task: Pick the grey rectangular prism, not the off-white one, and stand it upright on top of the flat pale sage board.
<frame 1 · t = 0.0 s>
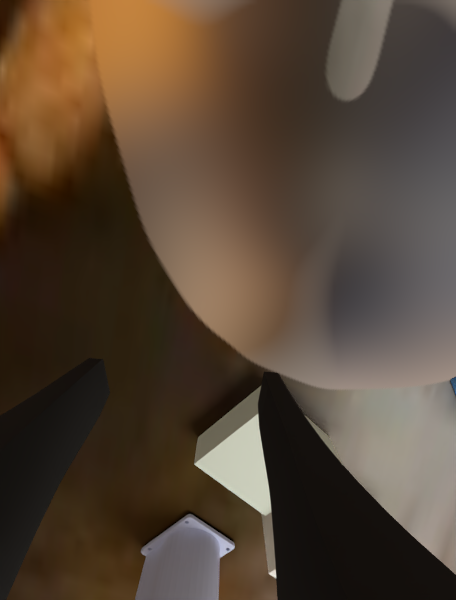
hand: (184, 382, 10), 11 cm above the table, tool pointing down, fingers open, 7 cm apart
sage board: (263, 437, 25), on the table
off-white pillar: (283, 502, 28), on the table
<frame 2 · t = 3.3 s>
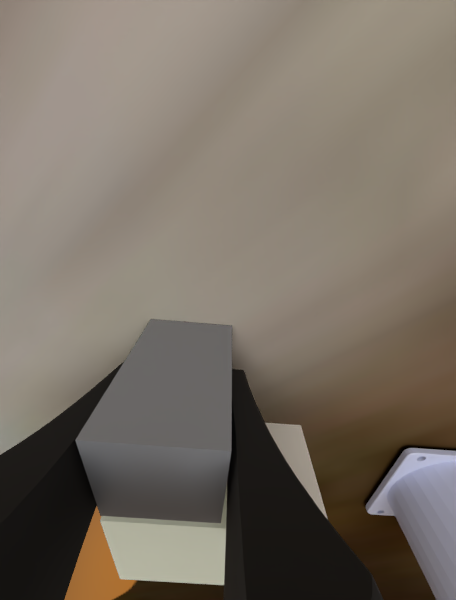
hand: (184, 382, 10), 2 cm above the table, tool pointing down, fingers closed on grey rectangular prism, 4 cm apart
sage board: (188, 505, 19), on the table
off-white pillar: (264, 442, 15), on the table
grey rectangular prism: (191, 354, 12), on the table, touching gripper
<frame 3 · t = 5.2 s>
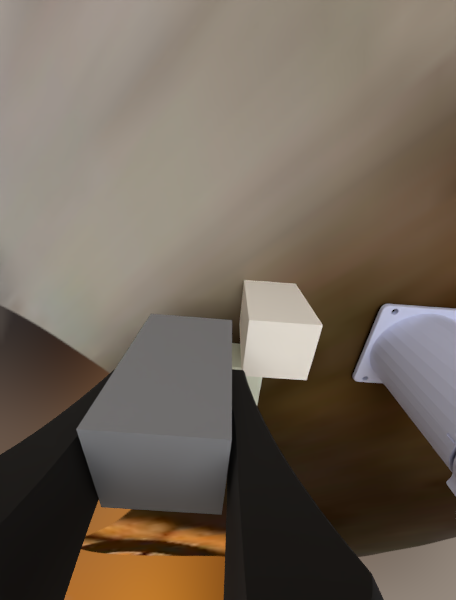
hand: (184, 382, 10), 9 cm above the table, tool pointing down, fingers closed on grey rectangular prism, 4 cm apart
sage board: (202, 382, 22), on the table
off-white pillar: (266, 304, 19), on the table
grey rectangular prism: (191, 349, 12), point 7 cm above the table, touching gripper
when the fingers open (6 cm above the table, at t = 7.0 s): grey rectangular prism stays where it is, resting on sage board.
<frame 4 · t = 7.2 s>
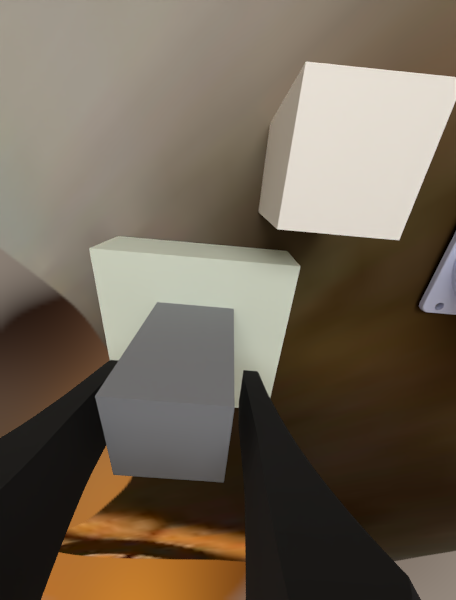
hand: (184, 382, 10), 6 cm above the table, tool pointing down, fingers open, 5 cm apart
sage board: (200, 316, 16), on the table
off-white pillar: (301, 174, 12), on the table
grey rectangular prism: (194, 336, 13), point 3 cm above the table, touching sage board
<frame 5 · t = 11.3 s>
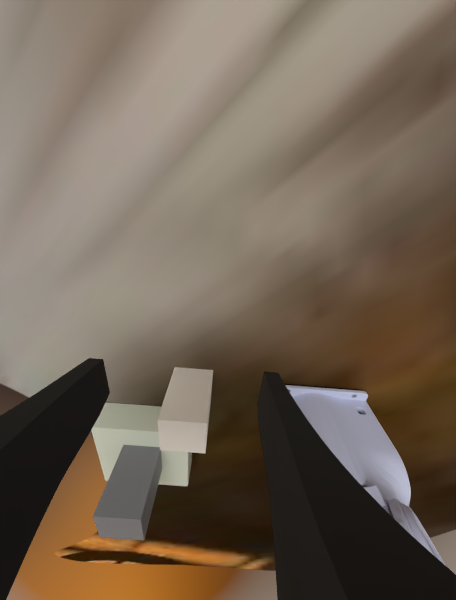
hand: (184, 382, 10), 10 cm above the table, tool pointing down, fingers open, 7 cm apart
sage board: (151, 433, 28), on the table
off-white pillar: (193, 382, 25), on the table
grey rectangular prism: (143, 457, 26), point 3 cm above the table, touching sage board
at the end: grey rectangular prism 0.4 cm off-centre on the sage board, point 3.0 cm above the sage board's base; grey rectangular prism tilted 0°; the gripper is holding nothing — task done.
